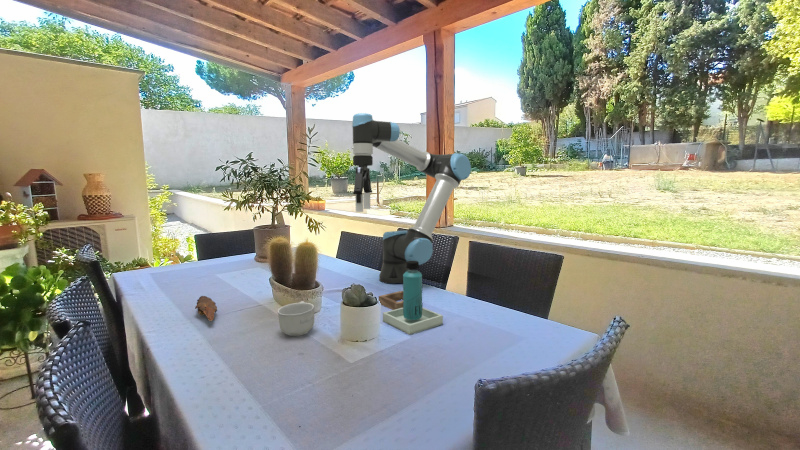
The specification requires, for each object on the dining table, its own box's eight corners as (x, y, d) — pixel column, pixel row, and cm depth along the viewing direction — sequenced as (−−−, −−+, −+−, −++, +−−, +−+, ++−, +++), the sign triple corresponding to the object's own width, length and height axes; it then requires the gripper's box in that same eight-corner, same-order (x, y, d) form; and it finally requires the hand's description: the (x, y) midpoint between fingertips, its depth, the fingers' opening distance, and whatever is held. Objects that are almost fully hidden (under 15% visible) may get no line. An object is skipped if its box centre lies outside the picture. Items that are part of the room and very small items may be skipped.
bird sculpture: (202, 330, 120) (201, 314, 119) (190, 308, 140) (189, 295, 139) (225, 325, 124) (224, 310, 123) (210, 304, 144) (209, 291, 143)
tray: (415, 312, 136) (415, 304, 136) (442, 324, 125) (442, 315, 125) (382, 321, 127) (382, 312, 127) (409, 335, 116) (409, 325, 116)
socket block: (402, 297, 152) (402, 290, 152) (421, 305, 143) (421, 297, 143) (378, 303, 145) (378, 296, 145) (397, 312, 136) (397, 303, 136)
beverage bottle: (415, 326, 122) (415, 264, 119) (398, 321, 126) (398, 261, 123) (426, 320, 127) (426, 260, 124) (410, 315, 131) (410, 258, 128)
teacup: (305, 341, 112) (304, 314, 111) (271, 338, 114) (270, 312, 113) (324, 323, 126) (323, 299, 125) (293, 321, 128) (292, 297, 127)
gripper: (360, 157, 160) (361, 207, 163) (344, 153, 136) (345, 212, 138) (378, 156, 160) (378, 207, 162) (365, 153, 135) (366, 213, 138)
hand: (363, 210), depth 150 cm, fingers open, 13 cm apart
